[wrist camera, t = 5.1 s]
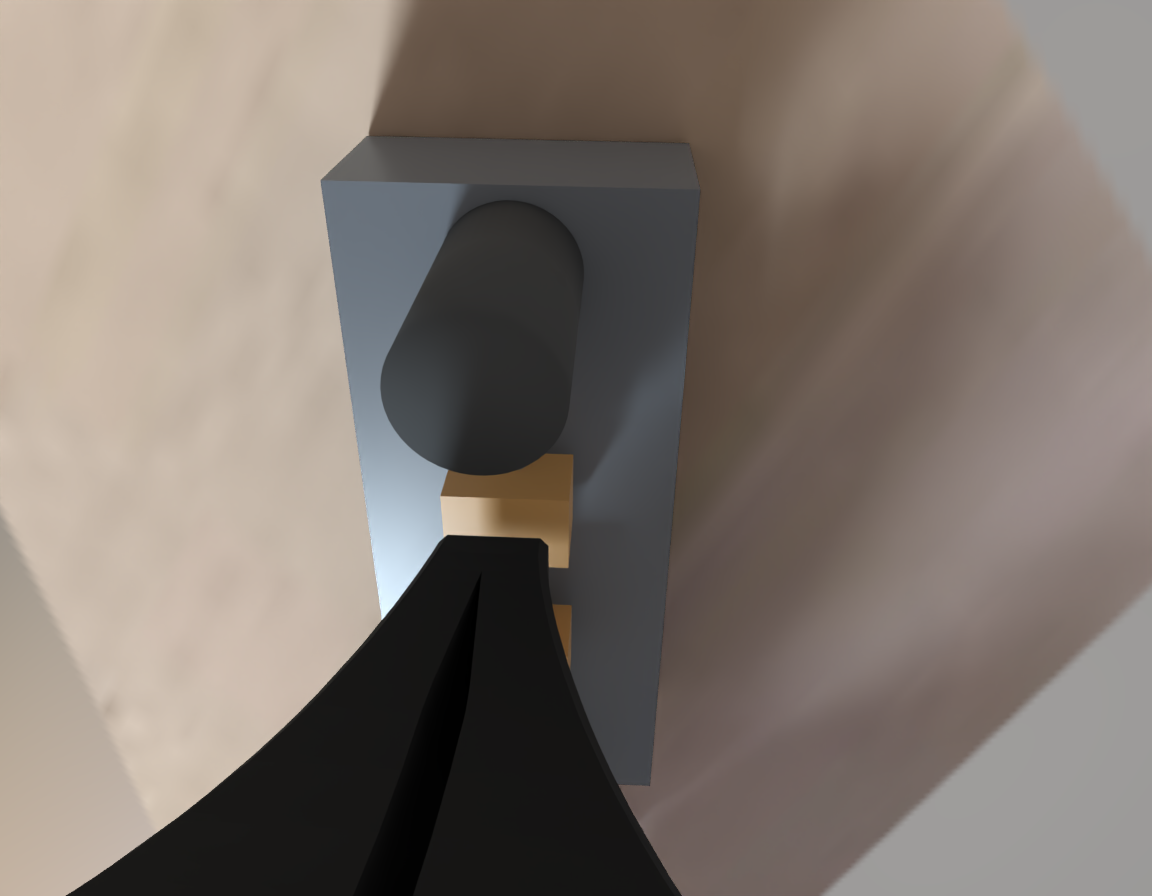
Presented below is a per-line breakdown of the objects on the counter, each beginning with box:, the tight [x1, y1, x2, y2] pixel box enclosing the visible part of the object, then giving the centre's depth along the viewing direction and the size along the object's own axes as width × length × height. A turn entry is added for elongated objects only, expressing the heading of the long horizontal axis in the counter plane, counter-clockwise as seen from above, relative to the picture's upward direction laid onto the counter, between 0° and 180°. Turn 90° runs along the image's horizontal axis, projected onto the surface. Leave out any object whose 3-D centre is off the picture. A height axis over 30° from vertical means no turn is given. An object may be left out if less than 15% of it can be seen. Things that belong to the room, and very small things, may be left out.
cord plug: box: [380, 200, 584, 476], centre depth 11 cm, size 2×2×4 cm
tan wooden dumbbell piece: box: [440, 454, 573, 668], centre depth 14 cm, size 4×2×1 cm, turn 179°
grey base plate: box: [321, 136, 700, 786], centre depth 16 cm, size 12×5×2 cm, turn 179°
